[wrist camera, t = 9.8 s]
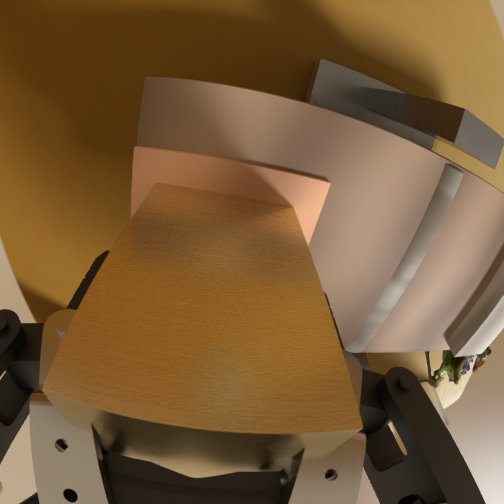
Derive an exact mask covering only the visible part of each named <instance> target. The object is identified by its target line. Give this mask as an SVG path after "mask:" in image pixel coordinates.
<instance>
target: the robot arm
mask: <svg viewBox="0 0 504 504" xmlns="http://www.w3.org/2000/svg"><path fill="white" fill-rule="evenodd" d="M109 252H110V251H105V252H104V253H103V254H101V255H100V256H98V257H97V258H96V259H95V261H94V262H93V264H92V266H91V267H90V270H88V272H87V274H86V275H85V278H84V279H83V280H82V282H81V284H80V285H79V287H78V289H77V291H76V292H75V294H74V296H73V298H72V299H71V301H70V303H69V305H68V307H67V308H66V309H63V310H59V311H57V312H55V313H53V314H52V315H50V316H49V317H48V319H47V320H46V322H45V323H23V324H22V323H21V322H20V320H19V317H18V316H17V314H16V313H15V312H13V311H11V310H7V309H3V310H0V376H1V375H2V374H3V372H4V371H6V373H5V374H4V375H3V377H2V378H1V380H0V463H1V462H2V460H3V458H4V456H5V454H6V452H7V451H8V449H9V447H10V445H11V443H12V441H13V440H14V438H15V436H16V435H17V433H18V431H19V430H20V428H21V426H22V425H23V423H24V421H25V420H26V418H27V416H28V415H29V413H30V436H31V449H32V459H33V467H34V475H35V481H36V486H37V492H36V493H35V494H34V495H32V496H30V497H29V498H27V499H26V500H24V501H23V502H21V503H20V504H356V503H357V498H358V493H359V487H360V481H361V476H362V470H363V467H364V469H365V471H366V474H367V476H368V478H369V480H370V482H371V484H372V487H373V489H374V491H375V493H376V495H377V498H378V500H379V502H380V504H485V501H484V499H483V497H482V495H481V493H480V490H479V488H478V486H477V484H476V482H475V480H474V478H473V476H472V474H471V472H470V470H469V468H468V466H467V464H466V462H465V460H464V458H463V456H462V455H461V453H460V451H459V449H458V447H457V445H456V443H455V442H454V440H453V438H452V436H451V434H450V433H449V431H448V429H447V426H448V420H447V418H446V415H445V412H444V410H443V407H442V404H441V402H440V399H439V397H438V394H437V392H436V390H435V388H433V386H431V385H430V384H429V382H419V380H418V379H417V377H416V376H415V375H414V374H413V373H412V372H411V371H409V370H408V369H405V368H403V367H394V368H392V369H390V370H389V371H388V372H387V373H386V374H385V375H382V374H378V373H375V372H371V371H368V370H365V369H362V367H361V364H360V362H359V361H358V359H357V358H356V357H355V356H354V355H353V354H351V353H350V352H348V351H346V350H344V347H343V343H342V340H341V337H340V334H339V330H338V327H337V324H336V321H335V318H334V317H333V312H332V309H331V308H330V303H329V300H328V297H327V294H326V293H325V292H324V294H325V297H326V300H327V303H328V306H329V310H330V313H331V316H332V319H333V322H334V325H335V329H336V332H337V335H338V338H339V342H340V345H341V348H342V352H343V355H344V358H345V362H346V365H347V369H348V372H349V376H350V379H351V383H352V387H353V390H354V394H355V398H356V402H357V405H358V409H359V413H360V417H361V421H362V425H363V429H361V430H360V431H359V432H357V433H356V434H355V435H353V436H352V437H351V438H349V439H348V440H347V441H345V442H344V443H342V444H339V445H329V446H318V447H305V448H304V449H303V450H301V451H300V452H299V453H297V454H296V455H295V456H293V457H292V458H291V459H292V463H291V464H290V465H288V466H287V467H285V468H284V469H282V470H280V471H270V472H243V471H239V472H234V473H228V474H223V475H216V476H210V477H203V478H193V477H189V476H186V475H184V474H181V473H178V472H175V471H173V470H170V469H168V468H165V467H163V466H160V465H158V464H155V463H153V462H150V461H145V460H140V459H135V458H131V457H127V456H123V455H119V454H115V453H110V454H109V453H108V452H107V451H106V450H105V448H104V447H103V446H102V445H101V443H100V437H101V436H100V434H99V433H98V432H97V430H96V429H95V427H94V426H93V425H92V423H91V422H88V421H85V420H82V419H79V418H76V417H73V416H70V415H67V414H64V413H62V412H59V411H57V410H56V408H55V407H54V406H53V405H52V403H51V402H50V401H49V399H48V398H47V397H46V395H45V394H44V392H43V391H42V387H43V384H44V382H45V379H46V377H47V374H48V372H49V369H50V367H51V365H52V362H53V360H54V358H55V355H56V353H57V351H58V349H59V346H60V344H61V342H62V340H63V338H64V335H65V333H66V331H67V329H68V327H69V325H70V323H71V321H72V319H73V317H74V315H75V313H76V311H77V309H78V307H79V305H80V303H81V301H82V300H83V298H84V296H85V294H86V292H87V290H88V288H89V287H90V285H91V283H92V281H93V279H94V278H95V276H96V274H97V272H98V271H99V269H100V267H101V265H102V264H103V262H104V260H105V259H106V257H107V255H108V254H109ZM390 422H391V424H392V427H393V431H394V434H395V437H394V435H393V433H392V431H391V429H390V427H389V425H388V424H389V423H390ZM395 438H396V439H395ZM1 492H2V484H1V483H0V493H1Z"/></svg>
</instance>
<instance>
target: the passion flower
mask: <svg viewBox="0 0 504 504" xmlns="http://www.w3.org/2000/svg"><path fill="white" fill-rule="evenodd" d="M425 354H426V359H427V365H428V375H429V376H428V379H429V384H430V385H431V386H433V388H435V389H436V387H439V385H440V382H441V381H442V380H443V379H444V378H443V377H441V376H443V375H444V374H445V373H446V374H448V377H449V382H450V381H453V382H454V383H455V384H458V383H459V380H460V378H461V375H464V374H466V370H467V371H469V369H470V368H469V367H470V365H469V363H470V361H471V362H473V357H474V356H475V355H468V356H460V357H454V356H453V354H452V352H451V350H443V355H442V358H443V362H442V365H441V367H440V368H439V369H438V370H436V371H434V375H433V376H431V368H430V361H429V351H425ZM490 354H491V350H490V347H487V348H486V349H485V350H484V351H483V353H482V354H476V355H477V356H478V357H477V358H476V361H475V364H474V367H473V372H476V370H477V369H479V368H481V367H482V366H483V365H484V363H485V361H483V360H484V359H486V357H487V356H489V355H490ZM435 378H437V379H435Z"/></svg>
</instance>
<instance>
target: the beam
mask: <svg viewBox="0 0 504 504" xmlns="http://www.w3.org/2000/svg"><path fill="white" fill-rule="evenodd" d="M155 183H161V184H168V185H175V186H182V187H188V188H194V189H200V190H207V191H212V192H218V193H224V194H230V195H235V196H241V197H246V198H252V199H257V200H262V201H267V202H272V203H277V204H282V205H287V206H292V207H294V209H295V212H296V215H297V217H298V220H299V223H300V226H301V228H302V231H303V234H304V236H305V239H306V242H307V245H308V248H309V250H310V253H311V256H312V259H313V262H314V265H315V268H316V270H317V273H318V276H319V279H320V282H321V285H322V288H323V291H324V292H325V293H326V294H327V297H328V300H329V303H330V308H331V309H332V312H333V317H334V318H335V321H336V324H337V327H338V330H339V334H340V337H341V340H342V343H343V347H344V350H346V351H348V352H352V353H359V352H421V351H440V350H451V352H452V354H453V356H454V357H460V356H468V355H476V354H482V353H483V351H484V350H485V349H486V348H487V347H488V346H489V345H490V344H491V342H492V341H493V340H494V339H495V338H496V336H497V335H498V334H499V333H500V332H501V330H502V329H503V328H504V193H503V192H502V191H500V190H499V189H497V188H496V187H494V186H493V185H491V184H490V183H488V182H486V181H485V180H483V179H482V178H480V177H478V176H477V175H475V174H473V173H472V172H470V171H468V170H466V169H465V168H463V167H461V166H459V165H458V164H456V163H454V162H452V161H450V160H448V159H447V158H445V157H443V156H441V155H439V154H437V153H435V152H433V151H431V150H429V149H427V148H425V147H423V146H421V145H419V144H417V143H414V142H412V141H410V140H408V139H406V138H403V137H401V136H399V135H397V134H394V133H392V132H389V131H387V130H385V129H382V128H380V127H377V126H375V125H372V124H370V123H367V122H364V121H362V120H359V119H356V118H353V117H350V116H348V115H345V114H342V113H339V112H336V111H333V110H330V109H326V108H323V107H320V106H317V105H313V104H310V103H306V102H303V101H299V100H296V99H292V98H288V97H284V96H280V95H276V94H272V93H267V92H263V91H258V90H253V89H248V88H243V87H238V86H232V85H227V84H221V83H214V82H207V81H200V80H192V79H183V78H173V77H160V76H157V77H145V80H144V86H143V92H142V99H141V106H140V114H139V122H138V131H137V140H136V146H135V147H134V154H133V168H132V187H131V218H132V216H133V215H134V213H135V212H136V210H137V209H138V207H139V206H140V205H141V203H142V202H143V200H144V199H145V197H146V196H147V195H148V193H149V192H150V190H151V189H152V188H153V186H154V185H155Z"/></svg>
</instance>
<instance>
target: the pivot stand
mask: <svg viewBox="0 0 504 504" xmlns="http://www.w3.org/2000/svg"><path fill="white" fill-rule="evenodd" d="M304 102H306V103H310V104H313V105H317V106H320V107H323V108H326V109H330V110H333V111H336V112H339V113H342V114H345V115H348V116H350V117H353V118H356V119H359V120H362V121H364V122H367V123H370V124H372V125H375V126H377V127H380V128H382V129H385V130H387V131H389V132H392V133H394V134H397V135H399V136H401V137H403V138H406V139H408V140H410V141H412V142H414V143H417V144H419V145H421V146H423V147H425V148H427V149H429V150H431V148H432V145H433V142H434V139H435V138H436V139H438V140H440V141H442V142H444V143H446V144H448V145H451V146H453V147H455V148H457V149H458V150H460V151H462V152H464V153H466V154H468V155H470V156H472V157H474V158H475V159H477V160H479V161H481V162H482V163H484V164H486V165H488V166H489V167H491V168H493V169H494V170H495V168H496V165H497V162H498V159H499V157H500V154H501V151H502V148H503V145H504V139H503V138H502V137H501V136H500V135H499V134H497V133H496V132H495V131H494V130H492V129H491V128H490V127H489V126H487V125H486V124H485V123H484V122H482V121H481V120H480V119H478V118H477V117H476V116H474V115H473V114H472V113H470V112H469V111H467V110H466V109H464V108H461V107H457V106H454V105H451V104H447V103H443V102H440V101H436V100H432V99H428V98H423V97H419V96H414V95H410V94H406V93H404V92H402V91H400V90H398V89H396V88H394V87H391V86H389V85H387V84H385V83H383V82H381V81H378V80H376V79H374V78H371V77H369V76H367V75H364V74H362V73H359V72H357V71H354V70H352V69H349V68H346V67H344V66H341V65H338V64H335V63H332V62H330V61H327V60H324V59H318V60H315V63H314V66H313V70H312V74H311V77H310V81H309V85H308V88H307V92H306V96H305V99H304ZM350 353H351V354H353V355H354V356H355V357H356V358H357V359H358V361H359V362H360V364H361V367H362V369H365V370H368V371H371V369H370V366H369V363H368V361H367V358H366V355H365V352H359V353H352V352H350Z"/></svg>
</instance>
